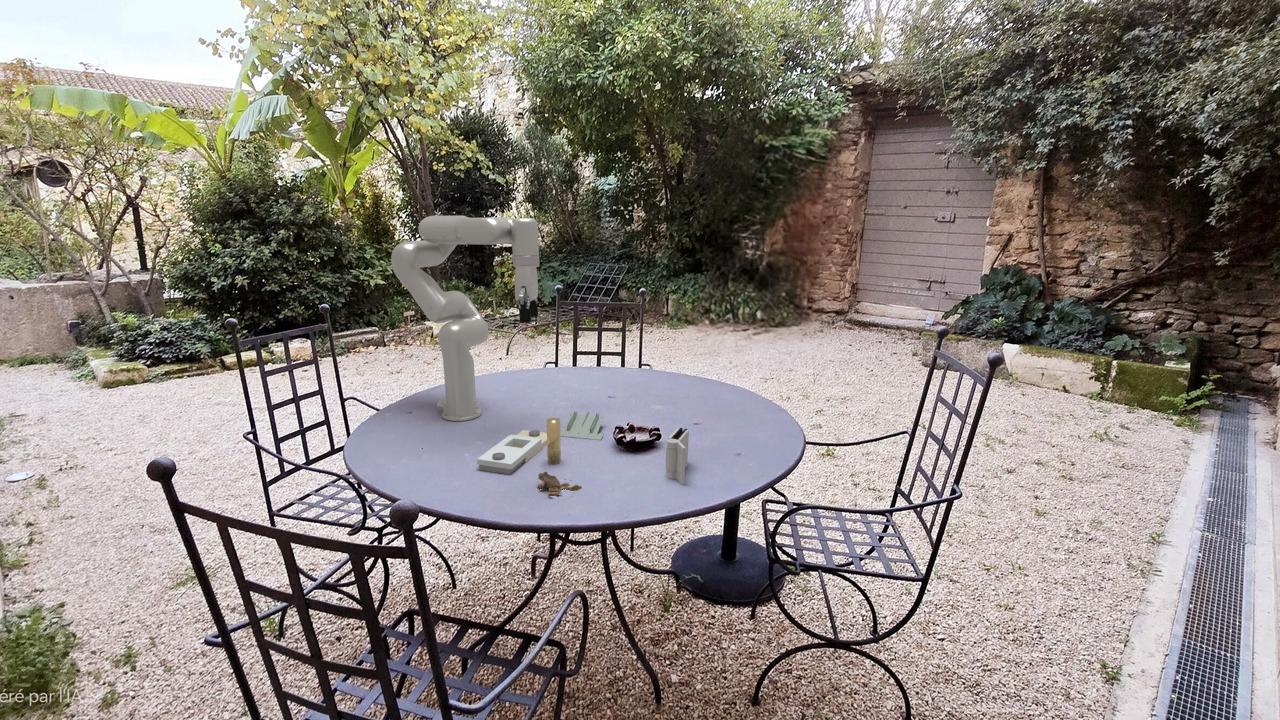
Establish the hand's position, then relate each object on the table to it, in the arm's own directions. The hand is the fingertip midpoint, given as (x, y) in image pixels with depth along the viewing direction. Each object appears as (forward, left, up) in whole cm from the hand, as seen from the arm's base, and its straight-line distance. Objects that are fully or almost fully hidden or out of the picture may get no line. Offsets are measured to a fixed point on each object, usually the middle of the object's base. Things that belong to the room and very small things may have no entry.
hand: (529, 319), depth 175 cm
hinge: (+51, -16, -35) cm, 64 cm away
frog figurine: (+24, -35, -35) cm, 55 cm away
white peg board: (+5, -18, -35) cm, 40 cm away
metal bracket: (+16, +3, -35) cm, 39 cm away
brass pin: (+17, -20, -35) cm, 44 cm away
